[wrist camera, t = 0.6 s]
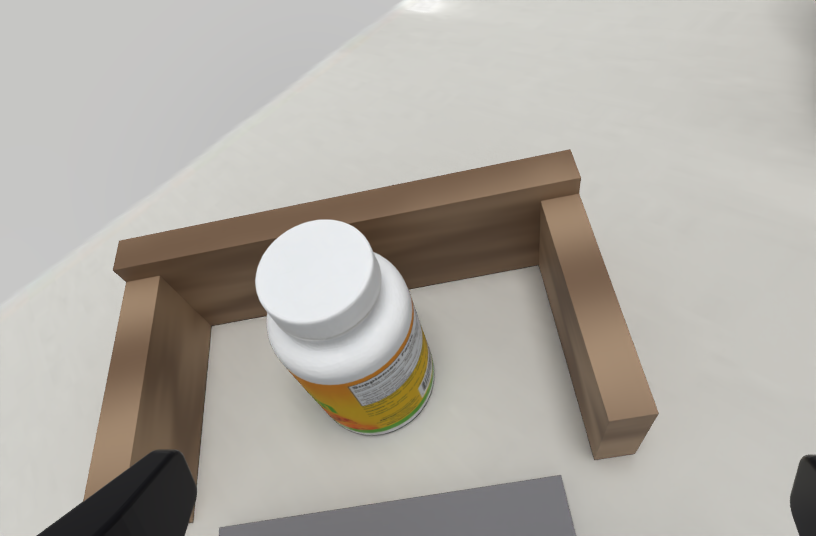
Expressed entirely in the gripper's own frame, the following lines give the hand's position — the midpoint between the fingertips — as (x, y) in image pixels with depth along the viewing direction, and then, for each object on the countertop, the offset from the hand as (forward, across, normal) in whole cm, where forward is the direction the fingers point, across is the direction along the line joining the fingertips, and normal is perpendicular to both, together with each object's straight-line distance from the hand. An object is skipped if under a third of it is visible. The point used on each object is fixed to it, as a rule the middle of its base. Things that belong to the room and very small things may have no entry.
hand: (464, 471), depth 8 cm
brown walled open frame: (+14, +5, +10) cm, 18 cm away
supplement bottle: (+14, +5, +10) cm, 18 cm away
